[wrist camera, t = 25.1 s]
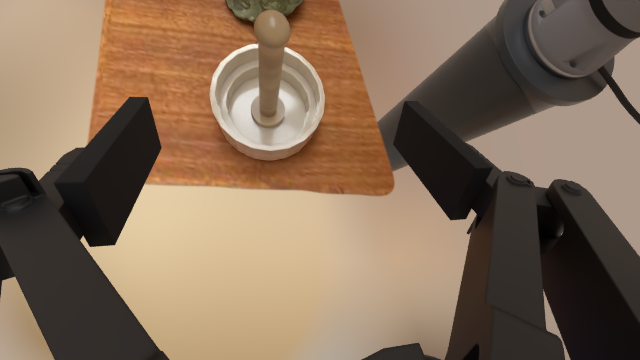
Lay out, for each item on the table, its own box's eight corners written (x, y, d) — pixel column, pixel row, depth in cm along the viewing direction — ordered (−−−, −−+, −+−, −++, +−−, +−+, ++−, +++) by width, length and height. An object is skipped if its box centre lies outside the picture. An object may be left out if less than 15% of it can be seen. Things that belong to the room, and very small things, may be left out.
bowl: (332, 135, 41) (344, 120, 35) (247, 178, 38) (245, 170, 32) (287, 55, 42) (291, 28, 36) (199, 91, 39) (188, 68, 33)
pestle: (290, 119, 40) (313, 33, 22) (261, 133, 38) (260, 55, 21) (274, 91, 40) (284, -17, 22) (245, 105, 39) (230, 2, 21)
